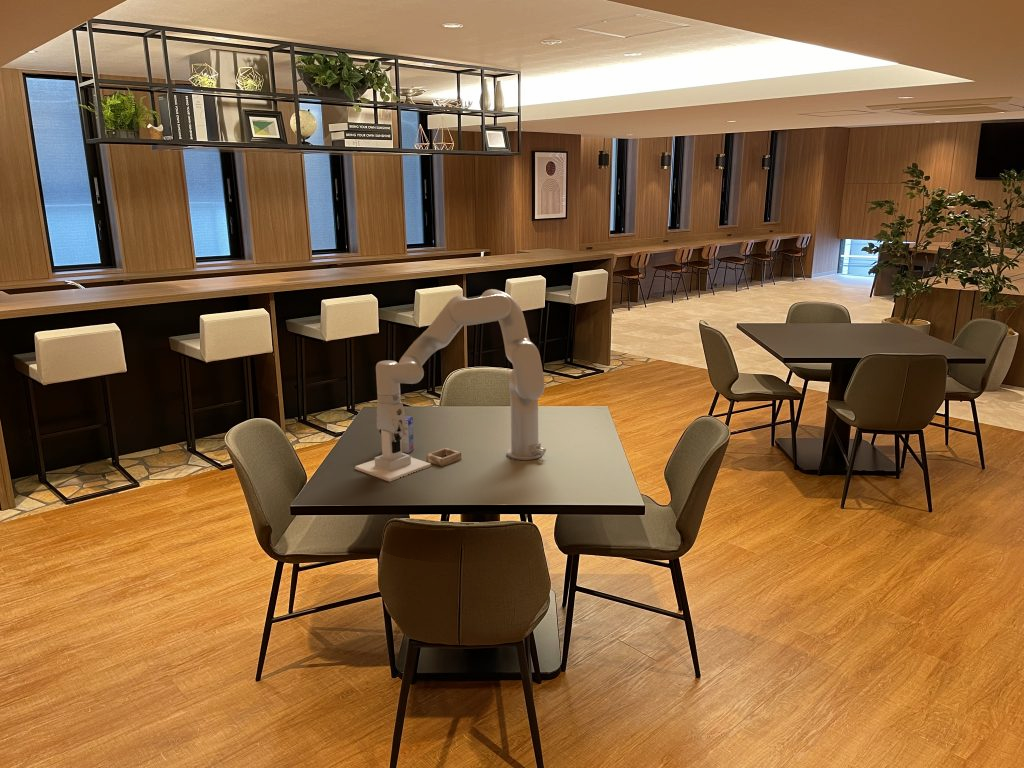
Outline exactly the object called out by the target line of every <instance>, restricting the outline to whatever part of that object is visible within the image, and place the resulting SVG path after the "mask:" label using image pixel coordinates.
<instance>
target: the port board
mask: <svg viewBox="0 0 1024 768" xmlns="http://www.w3.org/2000/svg"><path fill="white" fill-rule="evenodd" d="M430 466H431V467H432V463H431V462H428V461H426V460H425V461H424V460H421V459H418V458H414V457H413V456H411V455H410V454H408V453H402V457H401V458H398V459H395V460H393V461H388V460H385V459H383V456H382V454H381V455H378V456H375V457H374V459H373V460H370V461H366V462H363V463H361V464H357V465H355V467H354V468H355V470H357V471H359V472H362V473H365V474H368V475H371V476H373V477H376V478H378V479H381V480H384V481H386V482H393V481H395V480H397V479H401V478H403V476H404V477H407V476H409V475H411V473H412V474H414V473H413V472H415V473H417V472H420V471H423V470H425V469H427V468H430ZM422 469H423V470H422ZM419 470H420V471H419ZM416 471H417V472H416ZM408 474H409V475H408ZM400 477H401V478H400Z"/></svg>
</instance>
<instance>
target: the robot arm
mask: <svg viewBox="0 0 1024 768" xmlns="http://www.w3.org/2000/svg"><path fill="white" fill-rule="evenodd" d="M524 315H525V314H524V313H523V310H522V309H521V306H520V305H519V303H518V301H516V300H515V299H514V298H513V297H512V296H511V295H510V294H508V293H506V292H504V291H501V290H498V289H495V288H494V289H493V288H491V289H487V290H485V291H484V292H482V294H481V295H480V297H473V298H467V297H465V296H462V295H456V296H454V297H452V298H451V299H449V301H448V302H447V303H446V305H445V306H444V307H443V308H442V310H440V312H439V314H438V315H437V316H436V317H435V319H434V320H433V321H432V322H431V323H430V325H429V326H428V328H426V330H424V331H423V332H422V334H420V335H419V336H418V337H417V338H416V339H415V340H413V342H412V344H411V345H410V346H408V349H407V350H406V351H405V352H404V353H403V355H402V356H401V357H400V359H399V361H398V362H397V361H396V360H392V359H391V360H389V359H388V360H380V361H378V362H377V363H376V365H375V374H376V375H375V378H376V379H375V380H376V394H377V395H376V396H377V403H376V427H375V428H376V429H377V431H379V434H381V430H385V431H388V432H391V433H392V439H393V442H392V453H397V452H400V451H401V447H400V440H401V438H402V437H403V436H405V435H406V433H405V430H406V422H405V417H406V414H405V409H404V405H403V402H402V399H401V384H404V385H405V384H407V385H409V384H410V385H413V384H418V383H420V381H422V379H423V378H424V376H425V375H424V374H425V371H424V368H423V365H424V364H425V363H426V361H428V359H429V358H430V357H431V356H432V355H433V354H434V353H436V352H437V351H438V350H441V349H443V348H446V347H447V346H448V345H449V344H450V343H451V342H452V340H453V339H454V338H455V336H456V335H457V334H458V332H460V330H461V329H462V328H463V327H464V326H474V325H480V324H487V323H491V322H498V324H499V326H500V330H501V334H502V339H503V344H504V352H505V357H506V358H507V360H508V361H509V362H510V363H511V364H512V368H513V369H512V371H511V372H510V374H509V377H508V389H509V399H510V442H511V443H510V446H511V447H510V448H508V449H507V450H506V456H508V457H509V458H510V459H513V460H519V461H520V460H521V461H530V460H536V459H539V458H541V457H544V456H545V453H546V451H547V448H544V447H542V445H541V443H542V442H539V401H538V400H539V399H540V398H541V397H542V395H543V393H544V392H545V388H546V386H545V385H546V382H545V377H544V371H543V364H542V360H541V355H540V351H539V349H538V347H537V346H536V345H535V343H533V342H532V341H531V339H530V337H529V331H528V327H527V323H526V318H525V316H524ZM395 434H397V436H395Z"/></svg>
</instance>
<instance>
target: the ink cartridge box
mask: <svg viewBox="0 0 1024 768" xmlns="http://www.w3.org/2000/svg"><path fill="white" fill-rule="evenodd" d="M405 422H406V430H405V433H406V435H405V436H403V437H402V438H401V450H402V453H404V454H410V453H411V452H412V451H413V450H415V436H414V433H415V432H414V417H413V416H405Z"/></svg>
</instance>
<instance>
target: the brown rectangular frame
mask: <svg viewBox="0 0 1024 768" xmlns="http://www.w3.org/2000/svg"><path fill="white" fill-rule="evenodd" d="M445 455H446V456H445ZM425 457H426V460H425V461H426V462H428V463H431V464H435V465H437V466H441V467H445V466H447V465H451V464H452V463H456V462H458V461H460V459H461V460H462V452H461V451H457V450H454V449H453V448H448V447H443V448H440V449H438V450H435V451H431V452H428V453H426V455H425ZM444 465H445V466H444Z"/></svg>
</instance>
